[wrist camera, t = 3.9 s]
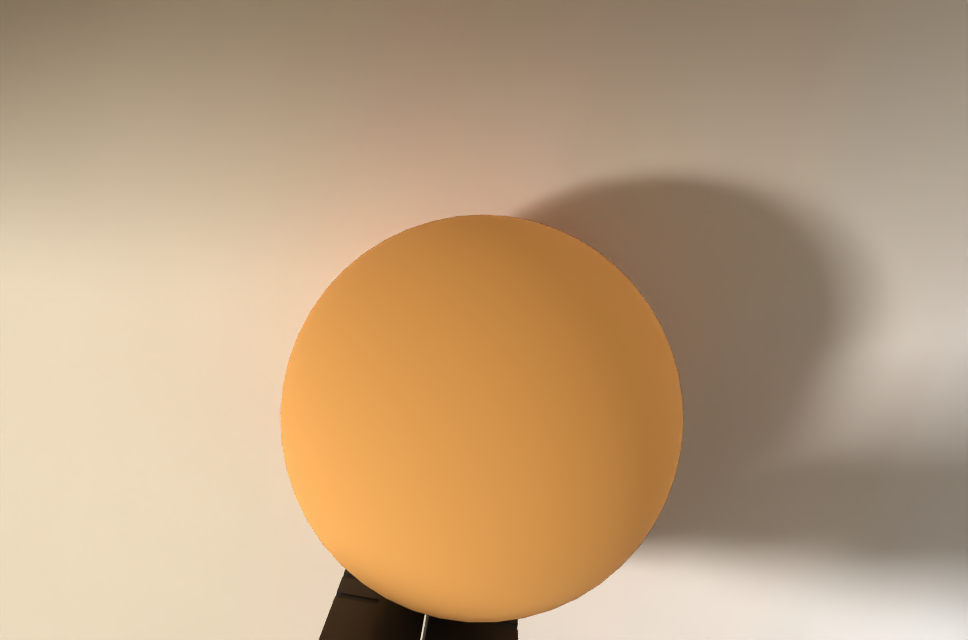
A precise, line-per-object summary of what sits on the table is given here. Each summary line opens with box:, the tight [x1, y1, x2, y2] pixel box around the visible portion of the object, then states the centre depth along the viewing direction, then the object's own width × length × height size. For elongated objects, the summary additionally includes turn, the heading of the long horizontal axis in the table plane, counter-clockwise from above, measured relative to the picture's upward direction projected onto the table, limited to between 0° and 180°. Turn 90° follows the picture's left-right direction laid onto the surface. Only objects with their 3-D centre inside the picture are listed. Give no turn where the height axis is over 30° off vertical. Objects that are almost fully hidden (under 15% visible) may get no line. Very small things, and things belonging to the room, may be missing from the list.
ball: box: [280, 215, 683, 622], centre depth 8 cm, size 6×6×6 cm
